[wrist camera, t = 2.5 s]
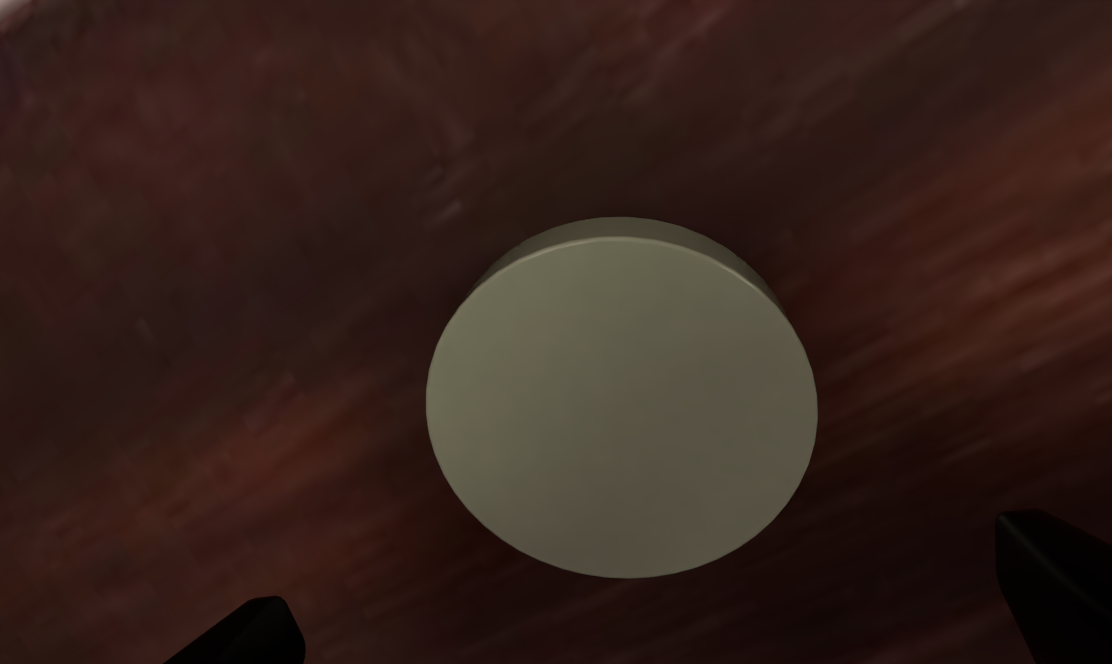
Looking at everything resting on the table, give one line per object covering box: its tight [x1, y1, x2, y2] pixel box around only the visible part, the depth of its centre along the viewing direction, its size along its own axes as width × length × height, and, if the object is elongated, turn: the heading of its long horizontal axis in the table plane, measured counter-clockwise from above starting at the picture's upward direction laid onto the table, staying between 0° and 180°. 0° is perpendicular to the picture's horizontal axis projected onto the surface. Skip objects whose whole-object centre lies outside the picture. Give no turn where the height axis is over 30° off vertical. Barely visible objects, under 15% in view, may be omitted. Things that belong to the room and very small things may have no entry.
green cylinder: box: [426, 217, 818, 579], centre depth 13 cm, size 7×7×2 cm
